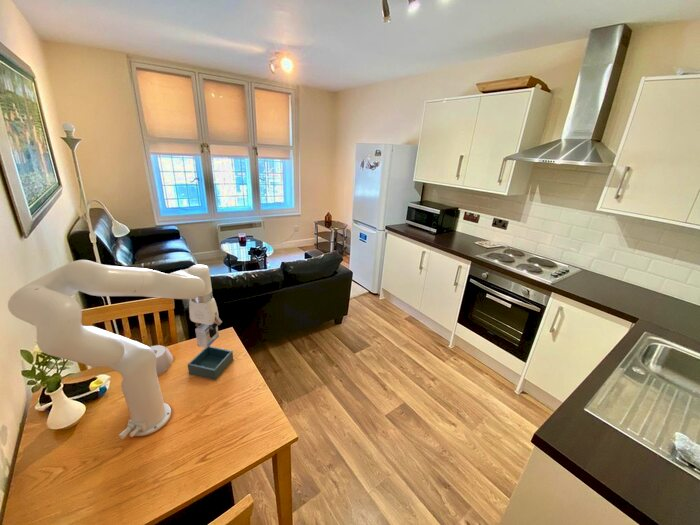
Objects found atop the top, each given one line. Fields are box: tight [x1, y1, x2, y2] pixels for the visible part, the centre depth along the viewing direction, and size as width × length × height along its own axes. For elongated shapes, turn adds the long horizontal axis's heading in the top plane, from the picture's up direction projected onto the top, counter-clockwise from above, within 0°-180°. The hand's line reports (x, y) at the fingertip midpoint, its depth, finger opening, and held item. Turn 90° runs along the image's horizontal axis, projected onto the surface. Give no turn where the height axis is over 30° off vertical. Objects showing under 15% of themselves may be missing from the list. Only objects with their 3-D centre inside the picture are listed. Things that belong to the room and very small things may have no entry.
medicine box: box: [194, 324, 220, 348], centre depth 118 cm, size 8×4×9 cm, turn 168°
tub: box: [187, 345, 234, 381], centre depth 124 cm, size 13×13×5 cm
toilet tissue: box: [149, 344, 174, 377], centre depth 122 cm, size 9×13×9 cm
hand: (207, 334), depth 118 cm, fingers closed on medicine box, 4 cm apart
